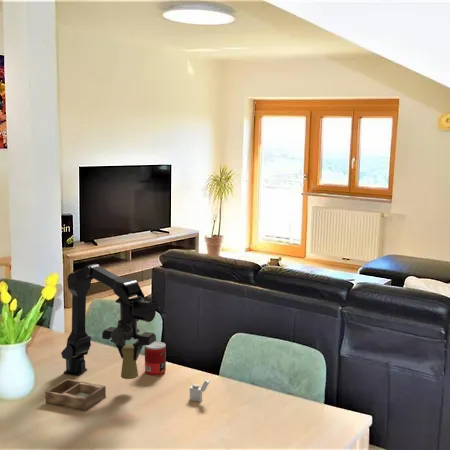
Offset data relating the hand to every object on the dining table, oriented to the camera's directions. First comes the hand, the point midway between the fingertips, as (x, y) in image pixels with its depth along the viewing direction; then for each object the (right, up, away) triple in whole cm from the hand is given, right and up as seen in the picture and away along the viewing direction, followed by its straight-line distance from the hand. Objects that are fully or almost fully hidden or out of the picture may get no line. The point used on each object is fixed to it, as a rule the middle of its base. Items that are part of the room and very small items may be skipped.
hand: (129, 359), depth 216 cm
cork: (0, -6, +1) cm, 6 cm away
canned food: (+7, -9, +19) cm, 23 cm away
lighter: (+25, -13, -5) cm, 29 cm away
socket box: (-17, -13, -6) cm, 22 cm away
